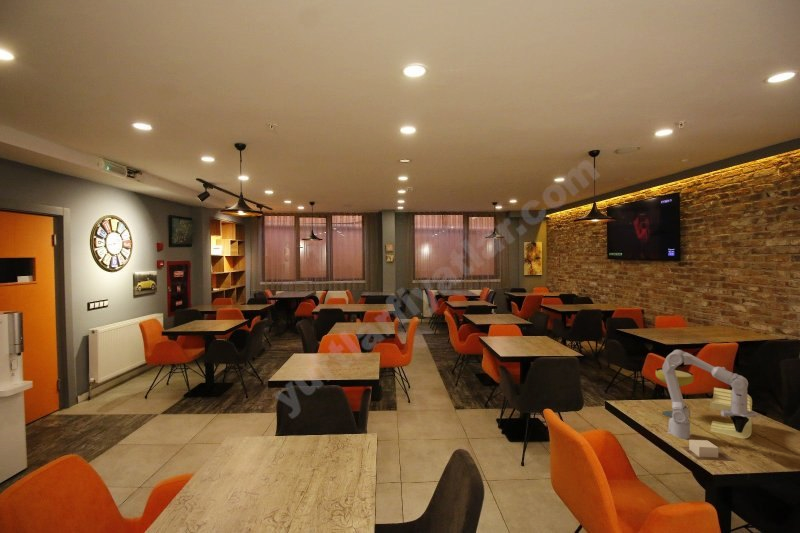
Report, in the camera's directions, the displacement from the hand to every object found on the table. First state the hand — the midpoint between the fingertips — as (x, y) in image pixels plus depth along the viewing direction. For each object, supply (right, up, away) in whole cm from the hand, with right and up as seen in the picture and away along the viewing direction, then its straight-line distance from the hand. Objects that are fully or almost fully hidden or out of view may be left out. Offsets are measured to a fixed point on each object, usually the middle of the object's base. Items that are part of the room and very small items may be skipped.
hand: (738, 431), depth 181 cm
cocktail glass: (+1, -10, +45) cm, 46 cm away
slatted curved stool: (+16, -10, +24) cm, 31 cm away
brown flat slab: (-16, -11, -2) cm, 19 cm away
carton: (-14, -7, -2) cm, 16 cm away
